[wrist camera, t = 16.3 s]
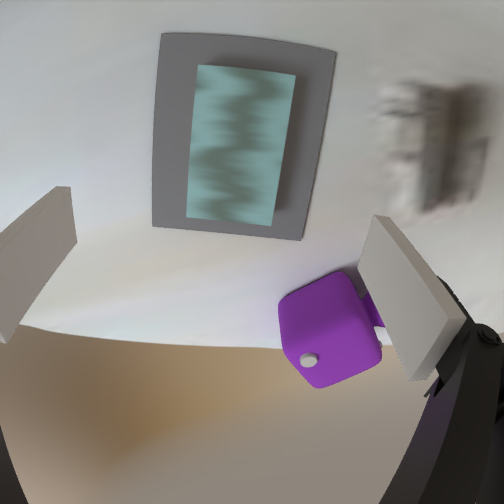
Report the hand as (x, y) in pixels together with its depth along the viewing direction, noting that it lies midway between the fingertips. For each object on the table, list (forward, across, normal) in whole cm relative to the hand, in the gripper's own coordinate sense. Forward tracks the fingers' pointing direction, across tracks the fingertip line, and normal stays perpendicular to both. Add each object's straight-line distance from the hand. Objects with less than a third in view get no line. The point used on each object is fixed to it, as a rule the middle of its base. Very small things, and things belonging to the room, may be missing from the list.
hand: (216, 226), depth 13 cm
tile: (+17, 0, -7) cm, 19 cm away
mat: (+19, 0, 0) cm, 19 cm away
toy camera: (+19, +14, -18) cm, 30 cm away
